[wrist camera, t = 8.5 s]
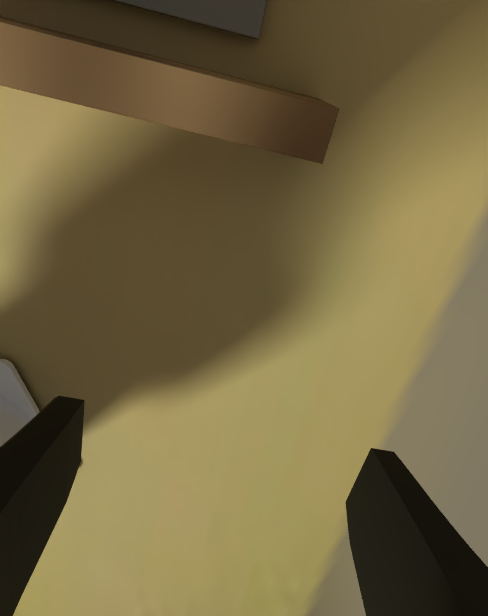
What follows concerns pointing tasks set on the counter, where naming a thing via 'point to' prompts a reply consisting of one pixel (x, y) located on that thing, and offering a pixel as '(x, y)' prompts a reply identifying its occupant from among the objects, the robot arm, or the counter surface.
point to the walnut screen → (163, 91)
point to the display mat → (212, 13)
